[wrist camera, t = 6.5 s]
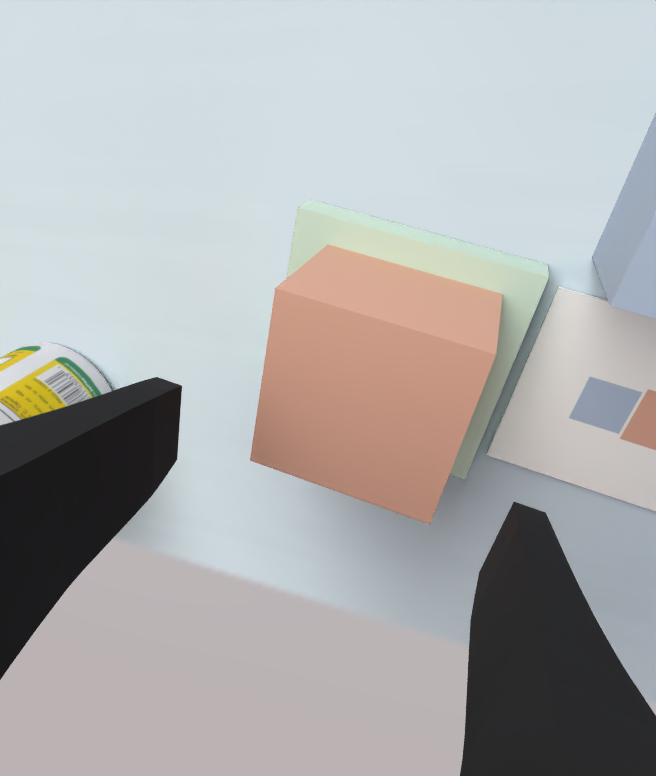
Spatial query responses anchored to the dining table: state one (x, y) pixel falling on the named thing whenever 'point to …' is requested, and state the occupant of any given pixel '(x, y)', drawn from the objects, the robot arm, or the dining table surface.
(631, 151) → the dining table surface
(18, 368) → the supplement bottle
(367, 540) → the dining table surface
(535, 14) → the dining table surface
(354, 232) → the plate
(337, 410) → the terracotta brick
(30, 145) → the dining table surface
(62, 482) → the robot arm
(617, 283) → the slate brick
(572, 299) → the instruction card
